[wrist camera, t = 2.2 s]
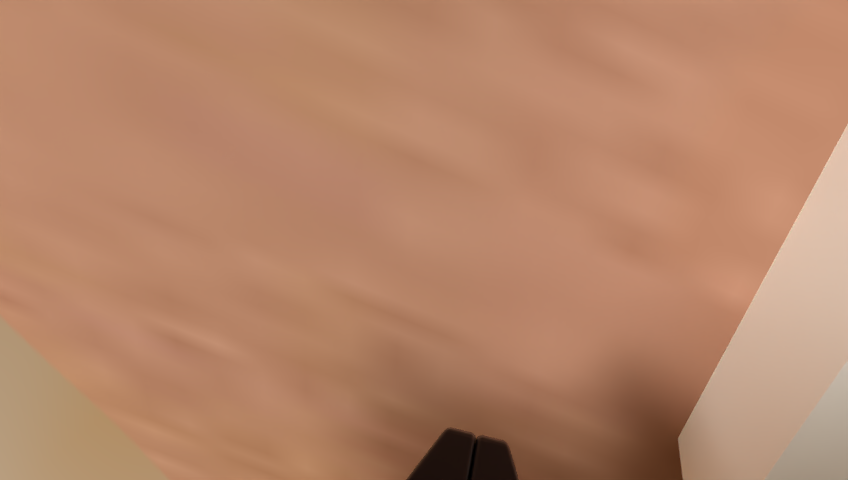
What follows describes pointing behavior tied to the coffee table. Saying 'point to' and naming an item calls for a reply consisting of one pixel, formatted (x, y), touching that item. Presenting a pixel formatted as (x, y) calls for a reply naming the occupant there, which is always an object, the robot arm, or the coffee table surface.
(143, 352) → the coffee table surface
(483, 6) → the coffee table surface
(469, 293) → the coffee table surface
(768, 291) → the carton
